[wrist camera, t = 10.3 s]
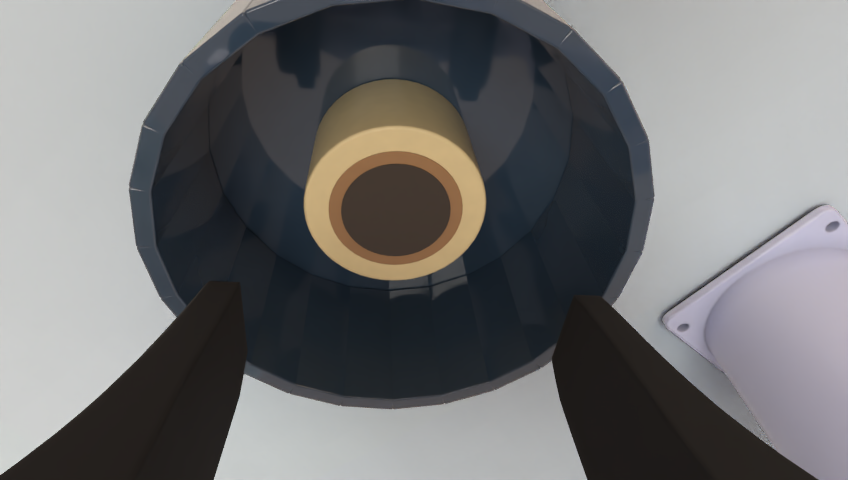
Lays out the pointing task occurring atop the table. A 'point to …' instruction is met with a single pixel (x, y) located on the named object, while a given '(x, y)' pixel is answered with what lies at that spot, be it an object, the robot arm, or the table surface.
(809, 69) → the table surface
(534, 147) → the dark round bowl
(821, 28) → the table surface
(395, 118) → the tape roll
